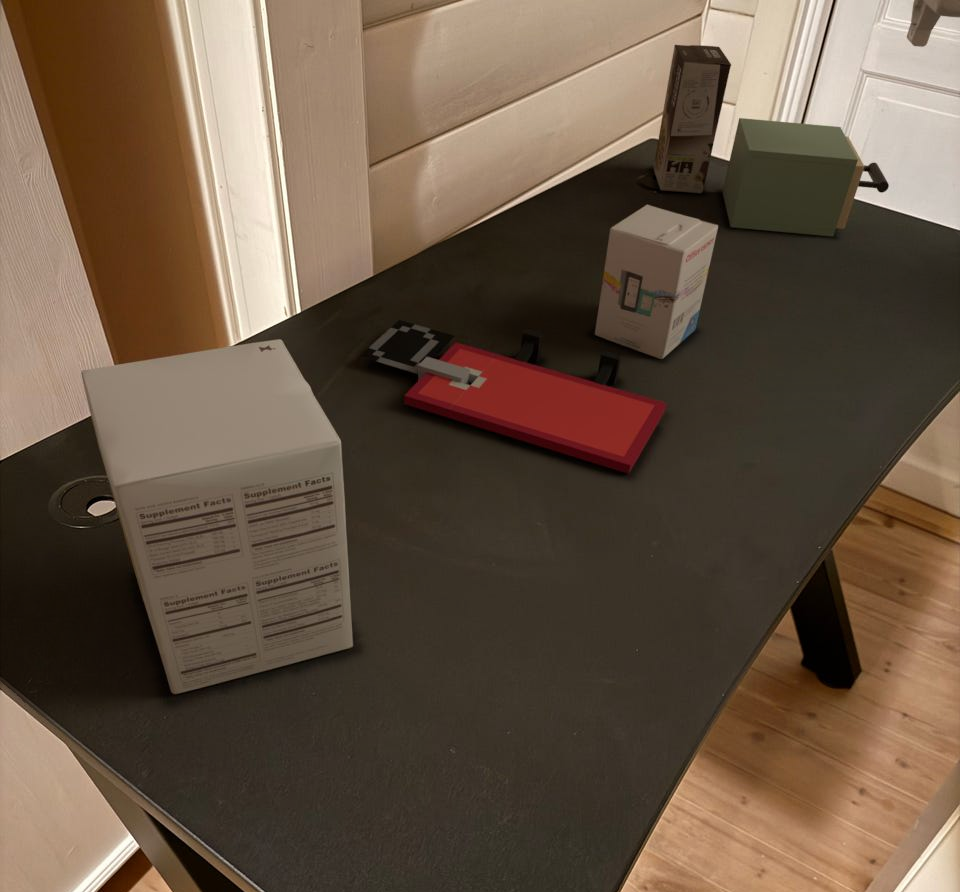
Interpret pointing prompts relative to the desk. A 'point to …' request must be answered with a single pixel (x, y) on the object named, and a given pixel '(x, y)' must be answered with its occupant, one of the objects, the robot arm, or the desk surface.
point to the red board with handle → (523, 395)
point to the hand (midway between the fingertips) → (915, 43)
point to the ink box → (654, 280)
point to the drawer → (861, 185)
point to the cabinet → (788, 177)
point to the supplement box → (227, 508)
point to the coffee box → (690, 117)
